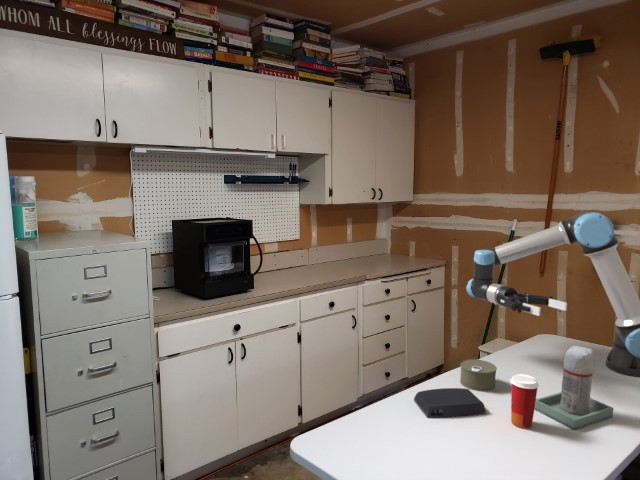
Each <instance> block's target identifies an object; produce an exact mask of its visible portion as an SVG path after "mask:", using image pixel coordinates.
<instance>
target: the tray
mask: <svg viewBox="0 0 640 480" xmlns="http://www.w3.org/2000/svg"><path fill="white" fill-rule="evenodd" d="M560 402H561V391H560V392H557V393H554V394H550V395H545V396H543V397H538V398H536V401H535V408H534V411H536V412H538V413H540V414H542V415H544V416H546V417H547V418H550V419H552V420H554V421H555V422H557V423H559V424H561V425H562V426H565V427H567V428H569V429H571V430H572V431H575V430H579V429H582V428H584V427H588V426H590V425H594V424H596V423H599V422H603V421H606V420H609V419H612V418H613V416H614V407H612V406H610V405H608V404H605V403H604V402H601V401H598V400H597V399H594V398H592V397H590V401H589V402H590V403H589V413H588V414H586V415H575V414H572V413H569V412H566V411H565V410H563V409H562V408H561V407H560Z"/></svg>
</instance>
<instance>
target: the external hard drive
mask: <svg viewBox="0 0 640 480" xmlns="http://www.w3.org/2000/svg"><path fill="white" fill-rule="evenodd" d="M413 401H414V403H415V405H417V407H418V408H419V410H420V411H421V412H422V413H423V415H424V416H425V417H426V418H427V419H445V418H446V419H448V418H449V419H450V418H463V417H464V418H465V417H471V416H472V417H474V416H481V415H486V414H487V410H486V407H485V404H484V402H482V400H481V399H479V397H477V396H476V395H475V394H474V393H473V392H472V390H471V389H468V388H465V387H464V388H461V387H458V388H457V387H446V388H432V389H425V390H421V391H417V392H416V394H415V395H414V397H413Z"/></svg>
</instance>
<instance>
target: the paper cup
mask: <svg viewBox="0 0 640 480" xmlns="http://www.w3.org/2000/svg"><path fill="white" fill-rule="evenodd" d="M510 378H511V379H510V380H509V382H510V383H511V385H510V386H511V387H510V388H511V393H510V395H511V396H510V397H511V400H510V403H511V404H510V415H511V416H510V419H511V420H510V422H511V424H512V425H513V426H514V427H517V428H519V429H525V430H526V429H531V428H532V426H533V420H534V415H535V410H534V408H535V401H536V399H537V394H538V388H539V386H540V384H539V382H538V380H537V378H535V377H534V376H532V375H529V374H524V373H523V374H522V373H518V374H517V373H516V374H514V375H513V376H512V377H510Z"/></svg>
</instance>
